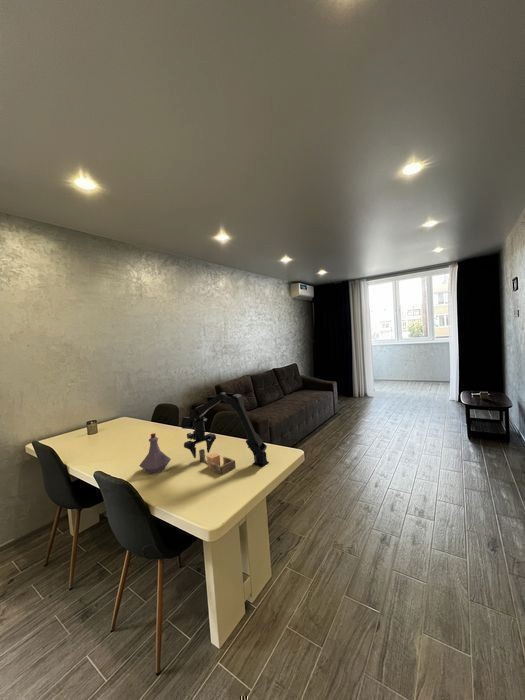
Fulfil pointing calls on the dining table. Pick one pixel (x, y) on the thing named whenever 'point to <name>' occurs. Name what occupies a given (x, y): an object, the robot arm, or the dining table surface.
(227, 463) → the dark brown open box
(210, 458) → the tethered block
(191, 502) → the dining table surface
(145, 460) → the flask
